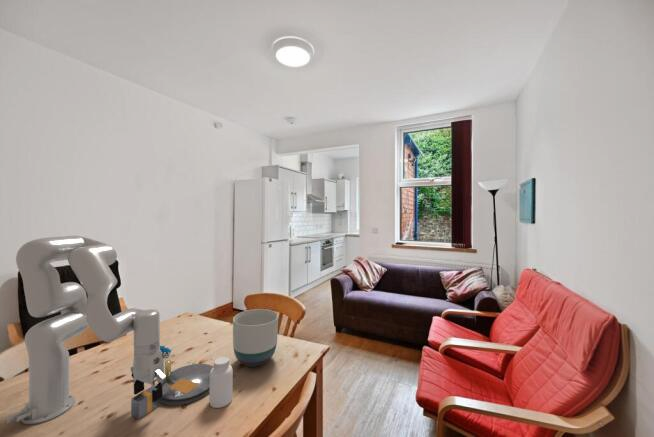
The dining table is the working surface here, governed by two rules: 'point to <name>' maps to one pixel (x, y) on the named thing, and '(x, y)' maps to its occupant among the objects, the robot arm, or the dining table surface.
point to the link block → (143, 404)
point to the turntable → (185, 381)
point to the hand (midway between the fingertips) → (148, 395)
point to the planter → (255, 336)
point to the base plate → (183, 402)
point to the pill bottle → (221, 383)
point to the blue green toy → (165, 349)
